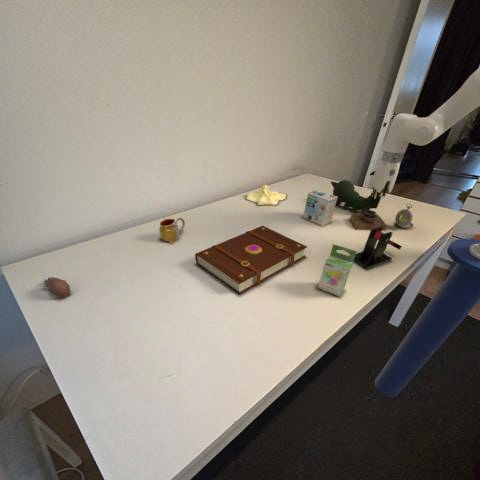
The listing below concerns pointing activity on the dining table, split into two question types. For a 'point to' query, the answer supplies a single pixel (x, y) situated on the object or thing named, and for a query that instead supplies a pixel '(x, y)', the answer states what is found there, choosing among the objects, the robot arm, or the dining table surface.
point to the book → (250, 258)
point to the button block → (367, 221)
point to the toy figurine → (350, 196)
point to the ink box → (336, 270)
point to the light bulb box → (320, 207)
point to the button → (370, 213)
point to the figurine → (57, 287)
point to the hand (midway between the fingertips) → (372, 207)
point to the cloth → (265, 196)
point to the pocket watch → (404, 218)
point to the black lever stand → (374, 250)
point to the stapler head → (389, 240)
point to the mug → (170, 229)
